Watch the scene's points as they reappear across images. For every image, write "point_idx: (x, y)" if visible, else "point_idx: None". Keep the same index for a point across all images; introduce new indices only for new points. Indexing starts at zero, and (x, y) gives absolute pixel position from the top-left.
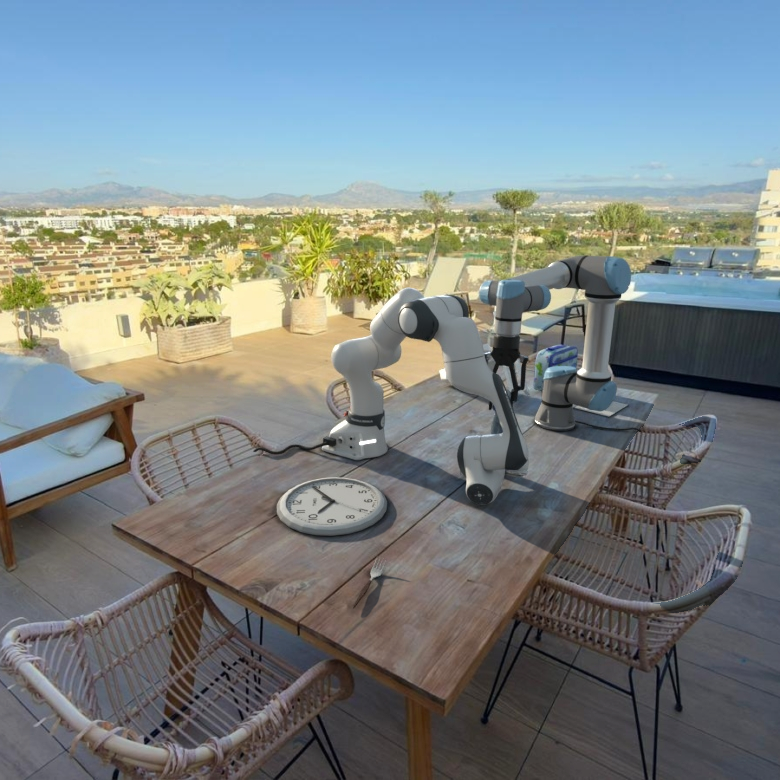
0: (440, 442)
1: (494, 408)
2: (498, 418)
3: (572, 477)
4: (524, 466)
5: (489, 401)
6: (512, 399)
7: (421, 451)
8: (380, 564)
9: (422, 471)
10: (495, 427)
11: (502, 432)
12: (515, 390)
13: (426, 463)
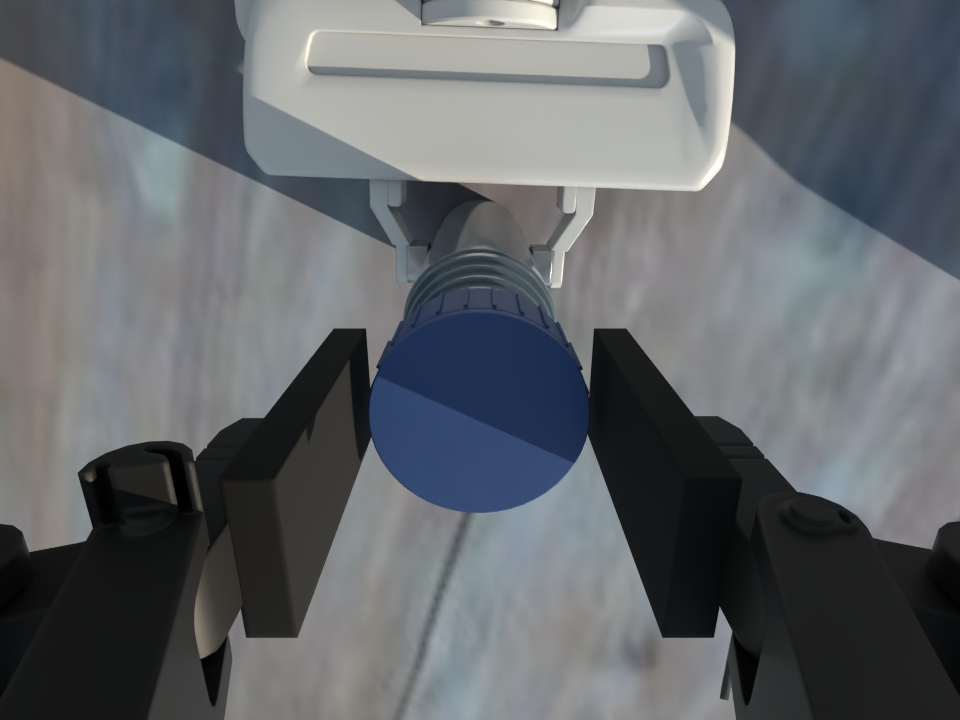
0: (798, 491)
1: (557, 328)
2: (489, 285)
3: (91, 307)
4: (249, 13)
5: (656, 370)
6: (283, 399)
7: (900, 353)
8: None
9: (892, 89)
10: (508, 252)
11: (441, 249)
12: (138, 464)
13: (869, 208)
